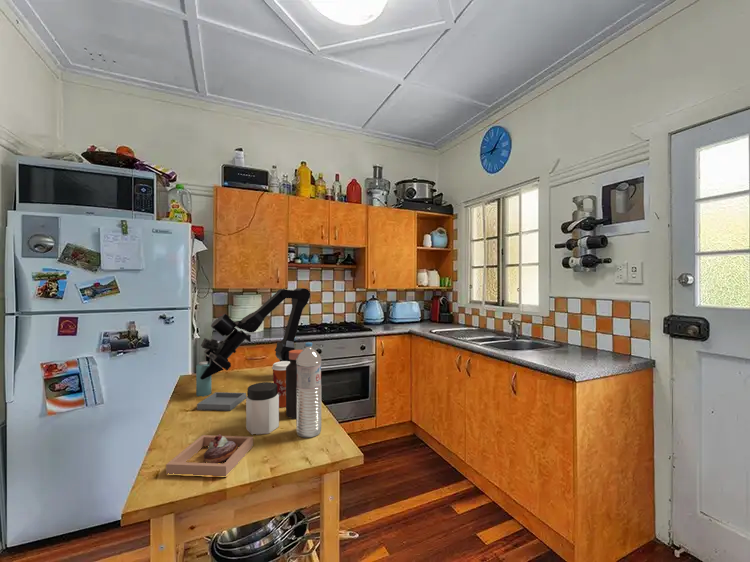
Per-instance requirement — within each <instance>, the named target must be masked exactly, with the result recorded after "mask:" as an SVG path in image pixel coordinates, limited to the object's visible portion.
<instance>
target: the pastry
mask: <svg viewBox="0 0 750 562" xmlns="http://www.w3.org/2000/svg"><path fill="white" fill-rule="evenodd" d="M215 436H216V437H215V438H214V439H211V442H210V443H209V447H207V449H206V451H205V452H204V454H203V462H204V461H205V462H207V463H221V464H223V463H222V462H224V463H225V461H227V460H228V459H229V458H230V457H231V456H232V455H233V453H234V452H235V451H236V450H237V449H238V447H237V444H236V443H235V442H233V441H227V439H226V438H225V437H223V436H224V435H222V434H221V433H219V434H217V435H215ZM205 462H204V463H205Z"/></svg>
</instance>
